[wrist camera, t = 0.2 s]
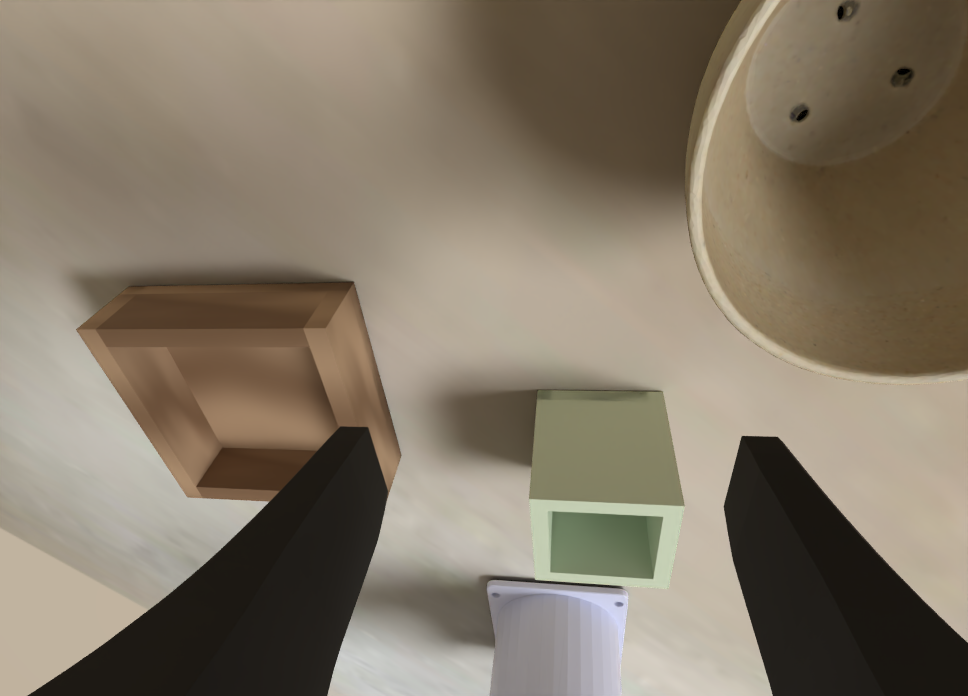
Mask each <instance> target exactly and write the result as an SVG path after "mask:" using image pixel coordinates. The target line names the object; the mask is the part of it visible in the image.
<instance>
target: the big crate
mask: <svg viewBox="0 0 968 696" xmlns="http://www.w3.org/2000/svg"><path fill="white" fill-rule="evenodd" d="M76 330H77V332H78V333H79V335H80V336H81V338H82V339H83V341H84V342H85V344H86V345H87V347H88V348H89V350H90V351H91V353H92V354H93V356H94V357H95V359H96V360H97V362H98V363H99V365H100V366H101V368H102V369H103V371H104V372H105V374H106V375H107V377H108V378H109V380H110V381H111V383H112V384H113V386H114V387H115V389H116V390H117V392H118V393H119V395H120V396H121V398H122V399H123V401H124V402H125V404H126V405H127V407H128V408H129V410H130V411H131V413H132V415H133V416H134V418H135V419H136V421H137V422H138V424H139V425H140V427H141V428H142V430H143V431H144V433H145V434H146V436H147V437H148V439H149V440H150V442H151V443H152V445H153V446H154V448H155V449H156V451H157V452H158V454H159V455H160V457H161V458H162V460H163V461H164V463H165V464H166V466H167V467H168V469H169V470H170V472H171V473H172V475H173V476H174V478H175V479H176V481H177V482H178V484H179V485H180V487H181V488H182V490H183V491H184V493H185V494H186V496H187V497H192V498H211V499H231V500H251V501H271V500H272V499H273V498H274V497H275V495H276V494H277V493H278V492H279V491H280V490H281V489H282V488H283V487H284V486H285V485H286V484H287V483H288V482H289V481H290V480H291V479H292V478H293V477H294V475H295V474H296V473H297V472H298V471H299V470H300V469H301V468H302V467H303V466H304V465H305V464H306V463H307V461H308V460H309V459H310V458H311V457H312V456H313V455H314V454H315V453H316V452H317V451H318V449H319V448H320V447H321V446H322V445H323V444H324V443H325V442H326V441H327V440H328V439H329V438H330V436H331V435H332V434H333V433H334V432H335V431H336V430H337V429H338V428H339V427H340V426H347V427H368V428H369V431H370V434H371V438H372V441H373V444H374V447H375V450H376V454H377V457H378V460H379V463H380V467H381V470H382V473H383V476H384V479H385V483H386V486H387V489H388V495H389V492H390V489H391V486H392V483H393V480H394V477H395V474H396V470H397V467H398V464H399V461H400V458H401V452H400V448H399V444H398V441H397V437H396V434H395V430H394V426H393V423H392V419H391V415H390V412H389V408H388V404H387V401H386V397H385V394H384V390H383V386H382V383H381V379H380V375H379V372H378V368H377V365H376V361H375V357H374V354H373V350H372V346H371V343H370V339H369V335H368V332H367V328H366V325H365V321H364V317H363V314H362V310H361V306H360V303H359V299H358V295H357V292H356V288H355V285H354V282H343V283H290V284H237V285H184V286H131V287H128V288H126V289H125V290H124V291H123V292H122V293H120V294H119V295H118V296H117V297H115V298H114V299H113V300H112V301H110V302H109V303H108V304H107V305H106V306H104V307H103V308H102V309H101V310H99V311H98V312H97V313H96V314H95V315H93V316H92V317H91V318H90V319H88V320H87V321H86V322H85V323H83V324H82V325H81V326H80V327H79V328H77V329H76ZM387 498H388V496H387Z"/></svg>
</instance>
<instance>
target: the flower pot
mask: <svg viewBox="0 0 968 696" xmlns="http://www.w3.org/2000/svg"><path fill="white" fill-rule="evenodd" d="M839 6H842V7H843V16H842V18H841V19H839V18H838V15H837V11H838V8H839ZM902 68H905V69H909V70H910V71H909V72H908V73H906V74H903V75H899V74H898V73H897V70H899V69H902ZM806 109H807V110H808V112H807V114H806V116H805V117H804V118H803V119H801V120H799V121H797V120H796V119H797V116H798V115H799V114H800V113H801V112H802V111H804V110H806ZM685 199H686V212H687V221H688V229H689V236H690V242H691V247H692V251H693V254H694V258H695V261H696V264H697V267H698V270H699V272H700V275H701V277H702V280H703V282H704V284H705V286H706V287H707V290H708V292H709V294H710V295H711V297H712V299H713V300H714V302H715V303H716V305H717V306H718V308H719V309H720V310H721V311H722V313H723V314H724V315H725V317H726V318H727V320H728V321H729V322H730V323H731V324H732V325H733V326H734V327H735V328H736V329H737V330H738V331H739V332H740V333H742V334H743V335H744V336H746V337H747V338H748V339H749V340H751V341H752V342H753V343H755V344H756V345H757V346H759V347H761V348H762V349H764V350H765V351H767V352H768V353H770V354H772V355H773V356H775V357H777V358H779V359H781V360H783V361H785V362H787V363H791V364H792V365H794V366H797V367H800V368H803V369H806V370H808V371H811V372H814V373H818V374H822V375H825V376H829V377H834V378H839V379H844V380H850V381H857V382H866V383H874V384H893V385H918V384H934V383H944V382H951V381H961V380H968V0H741V2H740V3H739V5H738V6H737V8H736V10H735V11H734V13H733V15H732V16H731V18H730V20H729V21H728V23H727V25H726V27H725V29H724V31H723V33H722V35H721V37H720V39H719V41H718V43H717V45H716V47H715V49H714V51H713V53H712V56H711V58H710V61H709V63H708V66H707V69H706V71H705V74H704V77H703V79H702V82H701V85H700V88H699V92H698V95H697V98H696V103H695V107H694V111H693V116H692V120H691V125H690V131H689V137H688V144H687V153H686V166H685Z"/></svg>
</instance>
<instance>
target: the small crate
mask: <svg viewBox="0 0 968 696" xmlns="http://www.w3.org/2000/svg"><path fill="white" fill-rule="evenodd" d="M529 504H530V518H531V531H532V544H533V558H534V571H535V580H545V581H559V582H574V583H588V584H603V585H617V586H632V587H646V588H660V589H669V583H670V578H671V573H672V568H673V563H674V558H675V553H676V548H677V543H678V538H679V533H680V527H681V522H682V517H683V512H684V507H685V505H684V500H683V495H682V490H681V484H680V479H679V474H678V469H677V463H676V458H675V453H674V447H673V442H672V437H671V432H670V426H669V421H668V416H667V411H666V405H665V400H664V395H663V392H640V391H567V390H538V392H537V405H536V418H535V430H534V443H533V456H532V469H531V481H530V494H529Z"/></svg>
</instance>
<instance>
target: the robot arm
mask: <svg viewBox="0 0 968 696" xmlns="http://www.w3.org/2000/svg"><path fill="white" fill-rule="evenodd" d="M387 496H388V489H387V486H386V483H385V479H384V476H383V473H382V470H381V467H380V463H379V460H378V457H377V454H376V450H375V447H374V444H373V441H372V438H371V434H370V431H369V428H368V427H347V426H340V427H339V428H338V429H337V430H336V431H335V432H334V433H333V434H332V435H331V436H330V438H329V439H328V440H327V441H326V442H325V443H324V444H323V445H322V446H321V447H320V448H319V449H318V451H317V452H316V453H315V454H314V455H313V456H312V457H311V458H310V459H309V460H308V461H307V463H306V464H305V465H304V466H303V467H302V468H301V469H300V470H299V471H298V472H297V473H296V474H295V475H294V477H293V478H292V479H291V480H290V481H289V482H288V483H287V484H286V485H285V486H284V487H283V488H282V489H281V490H280V491H279V492H278V493H277V494H276V495H275V497H274V498H273V499H272V500H271V501H270V502H269V503H268V504H267V505H266V506H265V507H264V508H263V509H262V510H261V511H260V512H259V513H258V514H257V515H256V516H255V517H254V518H253V519H252V520H251V521H250V522H249V523H248V524H247V525H246V526H245V527H244V528H243V529H242V530H241V531H240V532H239V533H237V534H236V535H235V536H234V537H233V538H232V539H231V540H230V541H229V542H228V543H227V544H226V545H225V546H224V547H223V548H222V549H221V550H220V551H219V552H218V553H216V554H215V555H214V556H213V557H212V558H211V559H210V560H209V561H208V562H206V563H205V564H204V565H203V566H202V567H201V568H200V569H199V570H197V571H196V572H195V573H194V574H193V575H192V576H190V577H189V578H188V579H187V580H186V581H184V582H183V583H182V584H181V585H180V586H178V587H177V588H176V589H175V590H174V591H173V592H171V593H170V594H169V595H168V596H166V597H165V598H164V599H163V600H161V601H160V602H159V603H158V604H156V605H155V606H154V607H152V608H151V609H150V610H148V611H147V612H146V613H144V614H143V615H142V616H140V617H139V618H138V619H136V620H135V621H134V622H133V623H131V624H130V625H128V626H127V627H126V628H125V629H123V630H122V631H121V632H119V633H118V634H117V635H115V636H114V637H113V638H111V639H110V640H109V641H107V642H106V643H105V644H103V645H102V646H101V647H99V648H98V649H96V650H95V651H94V652H92V653H91V654H89V655H88V656H86V657H85V658H83V659H82V660H80V661H79V662H78V663H76V664H75V665H73V666H72V667H70V668H69V669H67V670H66V671H64V672H63V673H61V674H60V675H58V676H57V677H55V678H54V679H52V680H51V681H49V682H48V683H46V684H45V685H43V686H42V687H40V688H39V689H37V690H36V691H34V692H33V693H31V694H29V695H28V696H327V694H328V690H329V686H330V682H331V678H332V674H333V670H334V667H335V664H336V660H337V657H338V654H339V651H340V647H341V644H342V641H343V639H344V636H345V633H346V630H347V627H348V624H349V622H350V619H351V616H352V613H353V610H354V607H355V604H356V602H357V599H358V596H359V593H360V590H361V587H362V585H363V582H364V579H365V576H366V573H367V570H368V567H369V564H370V562H371V559H372V556H373V553H374V550H375V547H376V544H377V541H378V537H379V533H380V529H381V524H382V520H383V516H384V511H385V506H386V501H387ZM724 511H725V517H726V523H727V529H728V536H729V541H730V547H731V552H732V557H733V562H734V565H735V569H736V572H737V576H738V579H739V582H740V586H741V589H742V593H743V596H744V599H745V603H746V606H747V610H748V613H749V616H750V620H751V623H752V626H753V630H754V633H755V636H756V640H757V643H758V646H759V650H760V653H761V656H762V660H763V663H764V666H765V670H766V673H767V676H768V680H769V683H770V686H771V690H772V694H773V696H968V643H967V642H966V641H965V640H964V639H963V638H962V637H961V636H960V635H959V634H958V633H956V632H955V631H954V630H953V629H952V628H951V627H950V626H949V625H948V624H947V623H946V622H945V621H944V620H943V619H942V618H941V617H940V616H939V615H938V614H937V613H936V612H935V611H934V610H933V609H932V608H931V607H930V606H928V605H927V604H926V603H925V602H924V601H923V600H922V599H921V598H920V597H919V596H918V595H917V593H916V592H915V591H914V590H913V589H912V588H911V587H910V586H909V585H908V584H907V583H906V582H905V581H904V580H903V579H902V578H901V577H900V576H899V575H898V574H897V573H896V572H895V571H894V570H893V569H892V568H891V567H890V566H889V565H888V564H887V563H886V561H885V560H884V559H883V558H882V557H881V556H880V555H879V554H878V553H877V552H876V551H875V550H874V549H873V547H872V546H871V545H870V544H869V543H868V542H867V541H866V540H865V539H864V537H863V536H862V535H861V534H860V533H859V532H858V531H857V530H856V529H855V527H854V526H853V525H852V524H851V523H850V522H849V521H848V520H847V519H846V517H845V516H844V515H843V514H842V513H841V512H840V511H839V509H838V508H837V507H836V506H835V505H834V504H833V502H832V501H831V500H830V499H829V498H828V497H827V495H826V494H825V493H824V492H823V491H822V489H821V488H820V487H819V486H818V485H817V483H816V482H815V481H814V480H813V479H812V477H811V476H810V475H809V474H808V473H807V471H806V470H805V469H804V468H803V466H802V465H801V464H800V463H799V461H798V460H797V459H796V458H795V457H794V455H793V454H792V453H791V452H790V450H789V449H788V448H787V447H786V445H785V444H784V443H783V442H782V441H781V440H780V439H779V438H778V437H761V436H742V437H741V441H740V445H739V449H738V453H737V457H736V461H735V465H734V469H733V472H732V476H731V480H730V484H729V488H728V492H727V496H726V500H725V504H724ZM487 595H488V600H489V606H490V612H491V617H492V623H493V629H494V634H495V640H496V642H495V651H494V660H493V669H492V678H491V688H490V696H622V686H621V670H620V667H621V658H622V650H623V641H624V633H625V624H626V615H627V607H628V593H627V592H626V591H625V590H623V589H617V588H603V587H589V586H574V585H560V584H546V583H532V582H517V581H503V580H491V581H489V582H488V583H487Z"/></svg>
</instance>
